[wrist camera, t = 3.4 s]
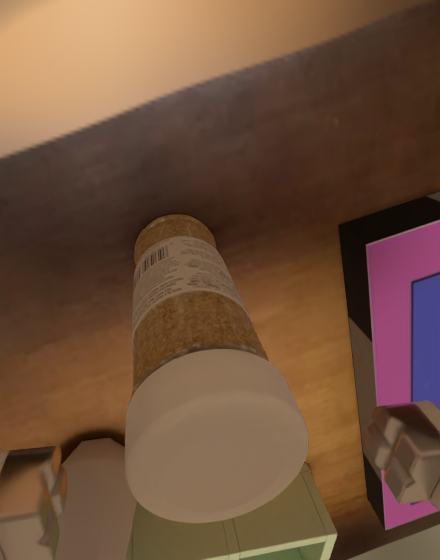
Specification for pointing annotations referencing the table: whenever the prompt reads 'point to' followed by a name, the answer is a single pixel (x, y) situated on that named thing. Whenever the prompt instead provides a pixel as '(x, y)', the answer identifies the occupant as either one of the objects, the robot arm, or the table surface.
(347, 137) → the table surface
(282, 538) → the rack
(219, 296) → the sprinkles bottle
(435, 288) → the book
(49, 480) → the robot arm
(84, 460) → the salt shaker
